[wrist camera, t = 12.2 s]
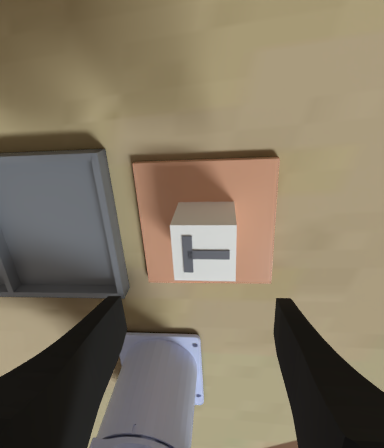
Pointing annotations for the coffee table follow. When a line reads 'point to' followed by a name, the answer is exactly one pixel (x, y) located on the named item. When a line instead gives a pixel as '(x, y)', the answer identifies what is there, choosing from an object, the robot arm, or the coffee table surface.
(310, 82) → the coffee table surface
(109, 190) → the sorting tray
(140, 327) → the coffee table surface
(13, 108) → the coffee table surface
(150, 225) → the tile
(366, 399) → the robot arm
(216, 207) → the letter cube
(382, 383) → the coffee table surface
